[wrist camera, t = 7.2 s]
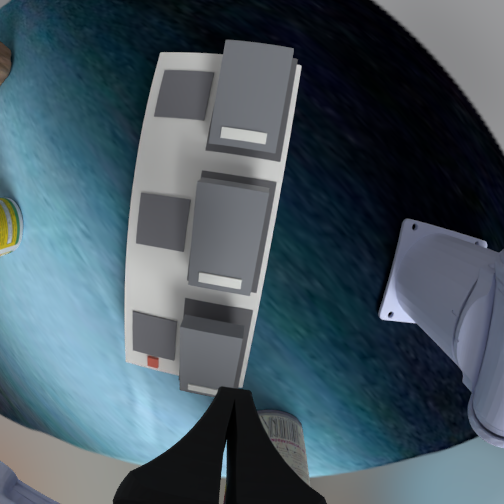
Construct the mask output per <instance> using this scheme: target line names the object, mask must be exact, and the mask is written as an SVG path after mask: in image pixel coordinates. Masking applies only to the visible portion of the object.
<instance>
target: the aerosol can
mask: <svg viewBox="0 0 504 504" xmlns="http://www.w3.org/2000/svg"><path fill="white" fill-rule="evenodd" d="M257 413H258V415H259V418H260V420H261V422H262V424H263V427H264V429H265V431H266V433H267V434H268V436H269V438H270V440H271V441H272V443H273V445H274V446H275V448H276V449H277V451H278V452H279V454H280V455H281V456H282V458H283V459H284V460H285V462H286V463H287V464H288V465H289V466H290V467H291V468H292V469H293V471H294V472H295V473H296V474H297V475H298V476H299V477H300V478H301V479H302V480H303V481H304V482H305V483H307V484H308V485H309V486H310V480H309V472H308V465H307V457H306V450H305V443H304V436H303V429H302V425H301V423H300V422H299V421H298V419H297V418H296V417H294V416H292V415H291V414H289V413H286V412H282V411H279V410H260V411H257ZM225 490H226V487H225ZM224 498H225V496H224ZM223 504H224V503H223Z"/></svg>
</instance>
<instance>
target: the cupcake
mask: <svg viewBox="0 0 504 504" xmlns="http://www.w3.org/2000/svg"><path fill="white" fill-rule="evenodd" d="M10 57H11V50H10V49H9V48H8V47H6V46H5V45H4V44H3V43H2V42H0V86H1V84H2V83H3V82H4V80H5V79H6V78H7V76H8V75H9V72H10V69H11V59H10Z"/></svg>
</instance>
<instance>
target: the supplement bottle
mask: <svg viewBox="0 0 504 504" xmlns="http://www.w3.org/2000/svg"><path fill="white" fill-rule="evenodd" d="M22 235H23V219H22V214H21V211H20V209H19V207H18V205H17V204H16V203H15V202H14V201H13V200H12V199H10V198H0V256H3V255H6V254H8V253H11V252H13V251H15V250H16V249H17V248H18V246H19V245H20V242H21V240H22Z"/></svg>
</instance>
